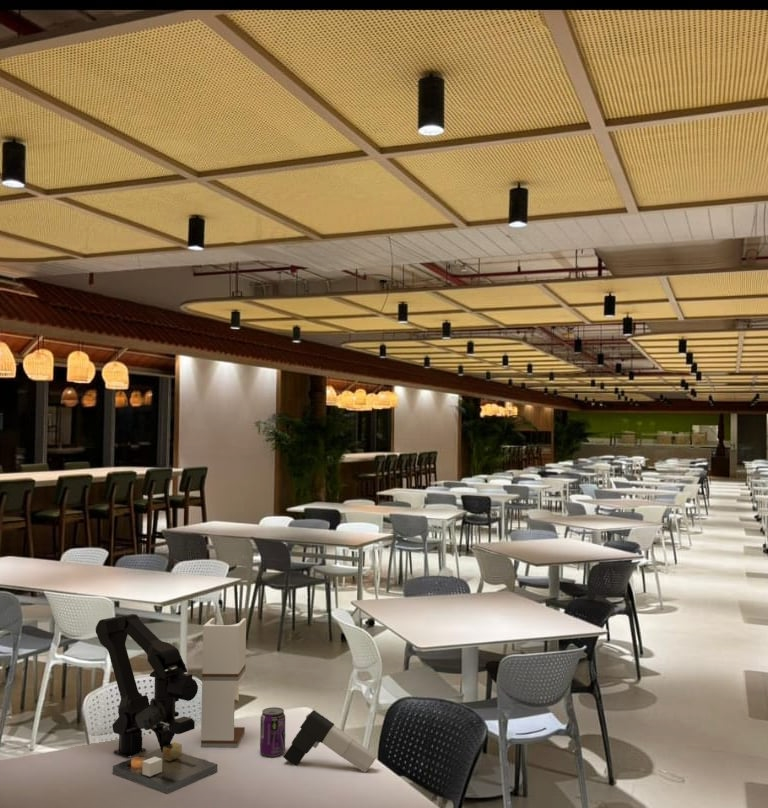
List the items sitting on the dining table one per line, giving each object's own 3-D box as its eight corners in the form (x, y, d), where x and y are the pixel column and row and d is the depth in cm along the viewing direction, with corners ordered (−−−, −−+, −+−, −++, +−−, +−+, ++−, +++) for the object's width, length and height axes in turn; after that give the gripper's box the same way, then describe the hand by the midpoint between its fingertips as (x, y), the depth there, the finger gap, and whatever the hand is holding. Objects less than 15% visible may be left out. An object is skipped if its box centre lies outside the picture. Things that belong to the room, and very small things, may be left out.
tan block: (162, 758, 216) (162, 746, 217) (174, 754, 220) (174, 742, 220) (170, 761, 215) (170, 748, 215) (181, 756, 218) (181, 744, 218)
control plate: (112, 773, 212) (112, 765, 212) (163, 754, 226) (163, 746, 226) (167, 793, 199) (167, 785, 200) (217, 771, 213) (217, 763, 213)
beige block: (142, 773, 206) (142, 761, 206) (154, 768, 209) (154, 756, 209) (149, 776, 204) (150, 763, 204) (162, 771, 207) (162, 759, 208)
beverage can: (280, 758, 223) (280, 715, 223) (256, 756, 224) (257, 713, 225) (288, 749, 230) (288, 707, 230) (265, 747, 231) (265, 705, 232)
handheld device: (287, 752, 222) (312, 707, 221) (352, 799, 217) (378, 753, 216) (282, 757, 218) (307, 711, 217) (348, 805, 213) (375, 758, 212)
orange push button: (127, 771, 212) (127, 760, 212) (139, 767, 216) (140, 755, 216) (137, 775, 210) (137, 763, 210) (149, 770, 213) (149, 758, 213)
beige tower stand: (237, 747, 231) (238, 626, 233) (200, 747, 231) (203, 625, 233) (244, 734, 242) (246, 618, 245) (210, 733, 243) (211, 618, 245)
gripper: (119, 696, 219) (118, 753, 218) (164, 707, 208) (163, 768, 207) (152, 686, 228) (151, 742, 227) (196, 697, 217) (195, 755, 216)
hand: (164, 752), depth 219 cm, fingers closed
